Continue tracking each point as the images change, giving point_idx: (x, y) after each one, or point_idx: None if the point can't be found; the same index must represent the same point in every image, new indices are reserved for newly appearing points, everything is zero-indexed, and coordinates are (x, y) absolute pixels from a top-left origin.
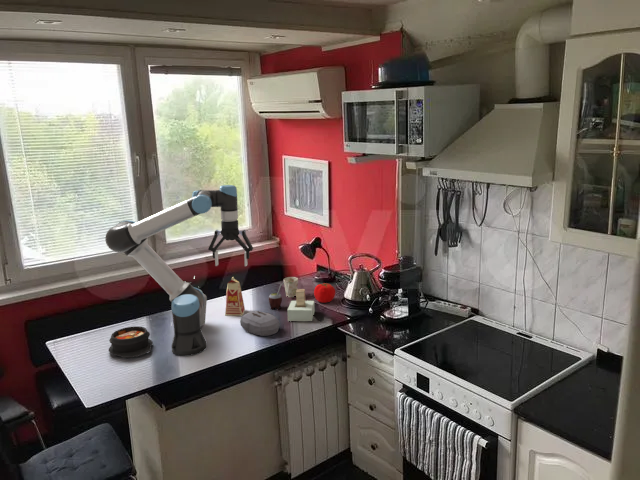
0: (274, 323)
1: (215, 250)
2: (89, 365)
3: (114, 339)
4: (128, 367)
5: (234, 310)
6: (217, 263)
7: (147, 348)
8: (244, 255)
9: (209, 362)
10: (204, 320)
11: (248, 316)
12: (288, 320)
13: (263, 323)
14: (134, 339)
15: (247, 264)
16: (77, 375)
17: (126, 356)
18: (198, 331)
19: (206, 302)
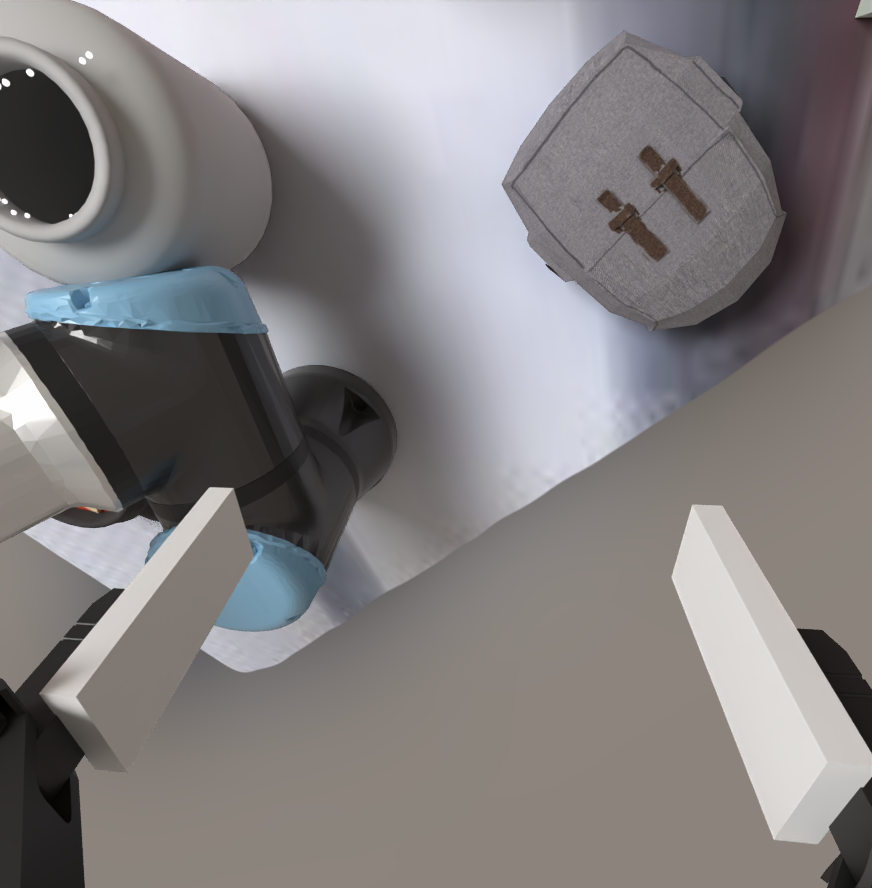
0: (748, 285)
1: (55, 757)
2: None
3: (55, 517)
4: None
5: None
6: (234, 550)
7: None
8: (746, 760)
9: (449, 531)
10: (266, 180)
11: (569, 219)
12: (866, 16)
13: (676, 317)
14: (126, 516)
15: (723, 514)
16: (99, 572)
17: (156, 518)
18: (356, 499)
19: (209, 133)
